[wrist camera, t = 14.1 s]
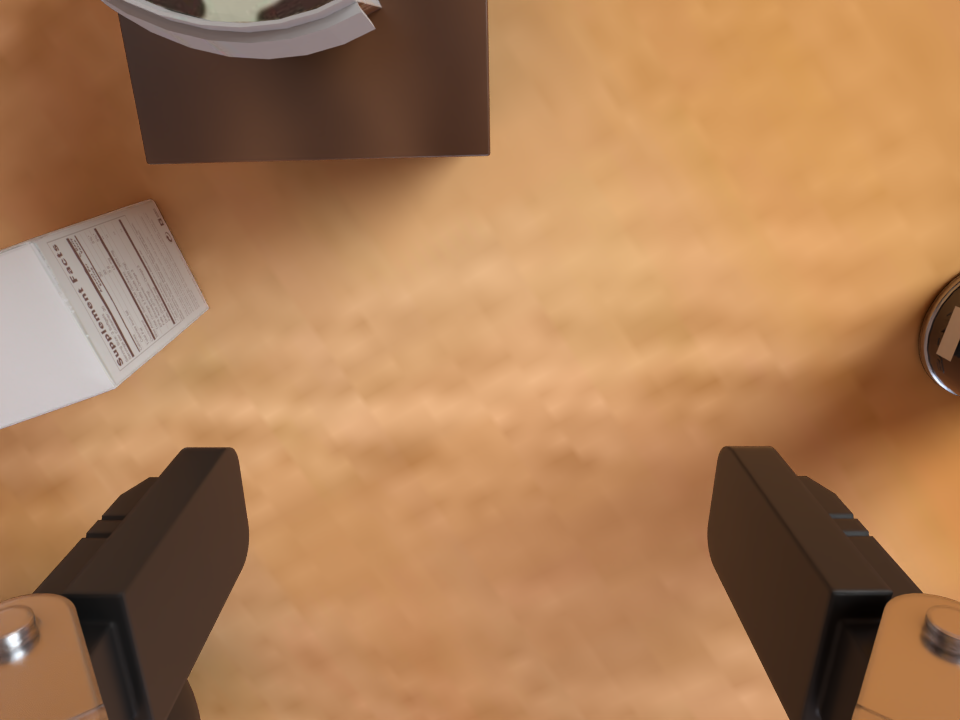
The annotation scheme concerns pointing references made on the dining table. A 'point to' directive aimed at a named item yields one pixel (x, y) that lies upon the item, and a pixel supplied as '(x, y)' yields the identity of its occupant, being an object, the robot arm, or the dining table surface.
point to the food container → (253, 24)
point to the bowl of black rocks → (185, 705)
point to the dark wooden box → (322, 93)
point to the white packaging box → (89, 308)
